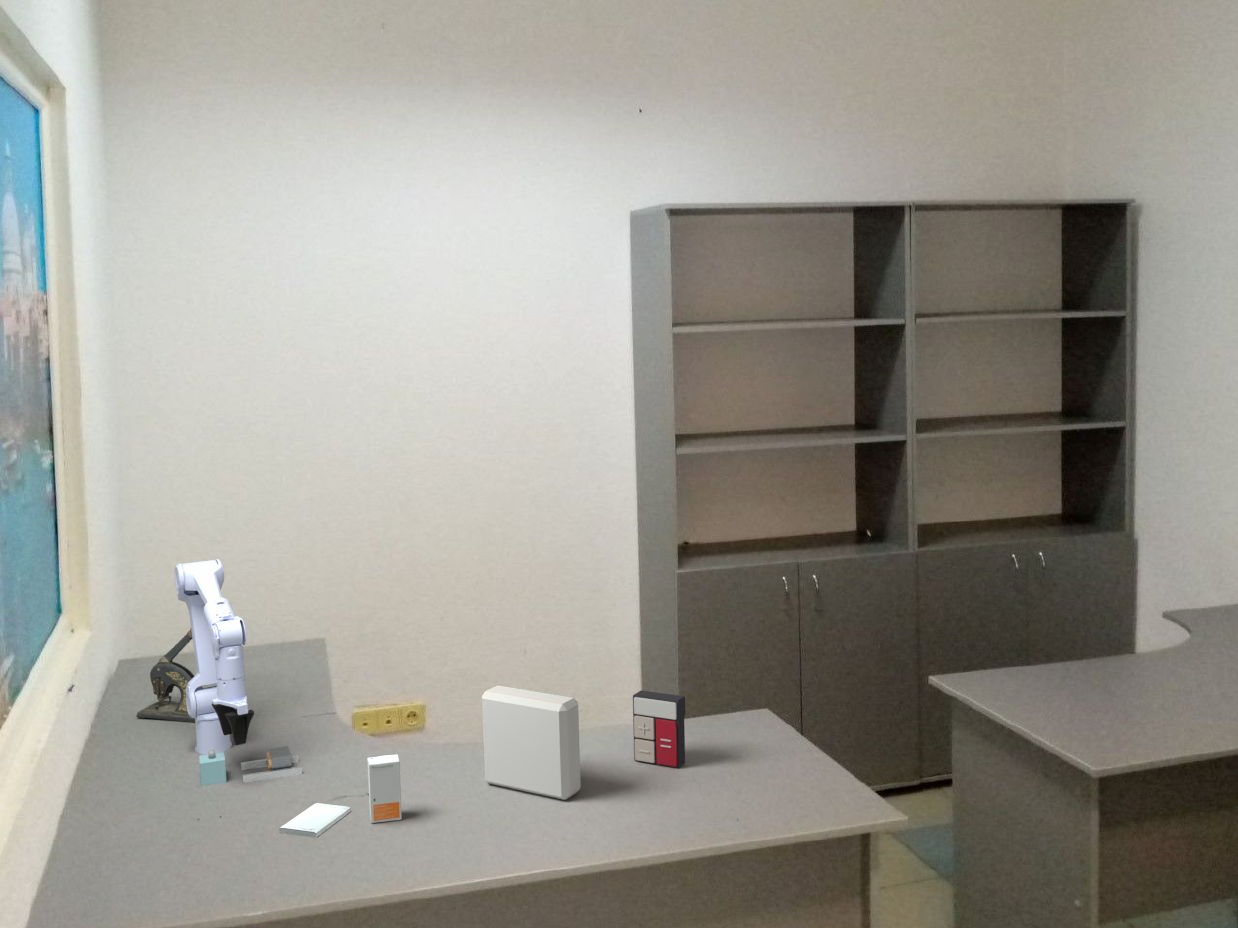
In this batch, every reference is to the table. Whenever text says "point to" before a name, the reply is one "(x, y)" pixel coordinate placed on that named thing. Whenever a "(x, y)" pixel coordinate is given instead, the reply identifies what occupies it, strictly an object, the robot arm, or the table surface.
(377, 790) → the skincare box
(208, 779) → the block
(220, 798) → the table surface
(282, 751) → the block
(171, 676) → the embossing press
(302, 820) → the hard drive
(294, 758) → the frame
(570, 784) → the bevelled white case
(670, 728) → the calculator
